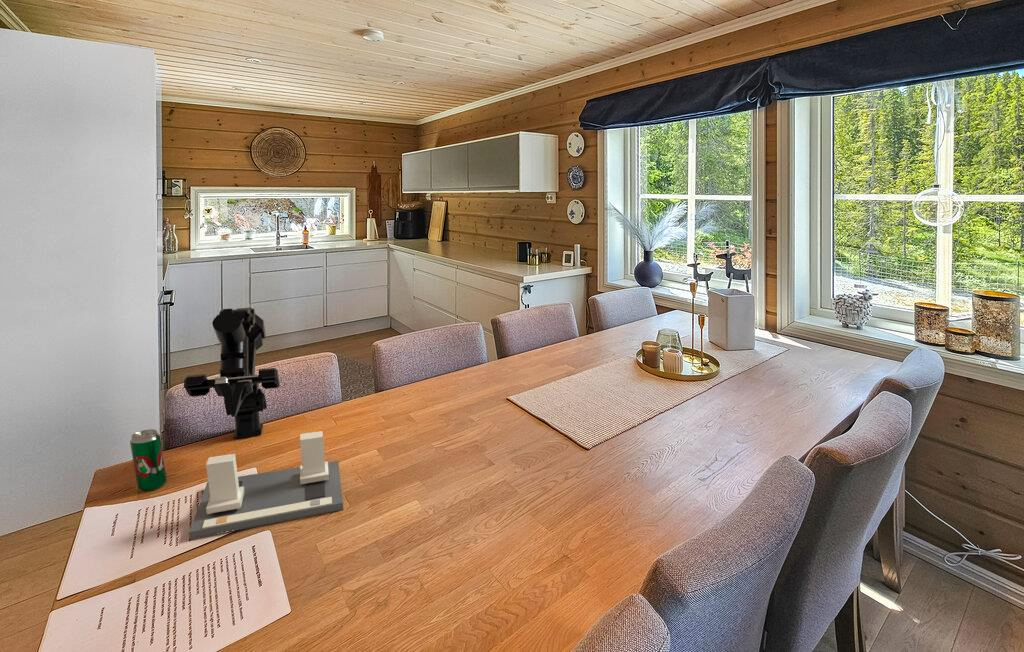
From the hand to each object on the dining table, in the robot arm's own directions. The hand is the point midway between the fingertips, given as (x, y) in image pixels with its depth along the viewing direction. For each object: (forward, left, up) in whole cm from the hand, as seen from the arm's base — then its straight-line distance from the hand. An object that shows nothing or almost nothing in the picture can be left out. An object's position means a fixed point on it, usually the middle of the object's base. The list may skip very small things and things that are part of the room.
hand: (233, 416), depth 110 cm
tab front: (+19, 0, -10) cm, 21 cm away
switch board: (+16, +8, -12) cm, 22 cm away
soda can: (+2, -16, -13) cm, 21 cm away
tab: (+13, +16, -10) cm, 23 cm away
